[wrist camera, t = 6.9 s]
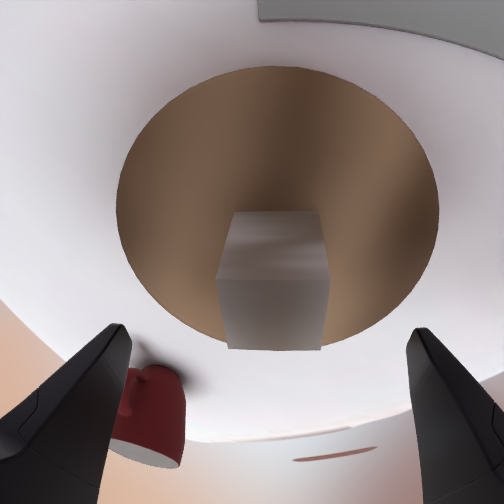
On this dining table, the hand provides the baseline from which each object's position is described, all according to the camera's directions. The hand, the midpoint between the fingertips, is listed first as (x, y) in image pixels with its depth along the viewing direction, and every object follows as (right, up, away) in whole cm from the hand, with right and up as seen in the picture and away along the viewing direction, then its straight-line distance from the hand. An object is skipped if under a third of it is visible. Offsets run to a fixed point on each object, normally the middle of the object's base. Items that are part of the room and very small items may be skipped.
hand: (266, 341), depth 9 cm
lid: (+1, +3, +5) cm, 6 cm away
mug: (-11, -10, +22) cm, 26 cm away
